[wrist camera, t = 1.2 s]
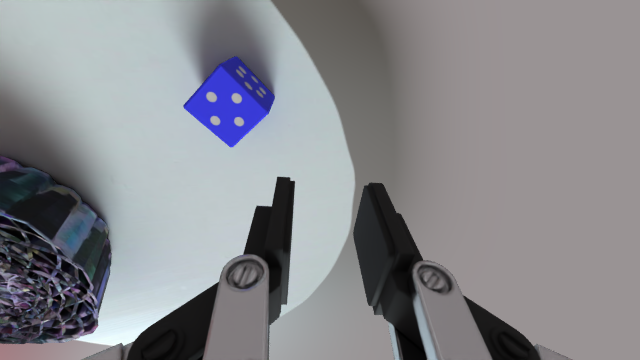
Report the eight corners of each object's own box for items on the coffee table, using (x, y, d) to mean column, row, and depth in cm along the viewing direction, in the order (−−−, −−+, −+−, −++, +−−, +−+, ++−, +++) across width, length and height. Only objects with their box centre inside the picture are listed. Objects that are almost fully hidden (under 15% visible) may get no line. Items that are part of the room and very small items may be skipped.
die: (242, 128, 27) (231, 148, 23) (203, 92, 25) (181, 107, 20) (275, 96, 25) (269, 112, 21) (236, 55, 23) (220, 63, 19)
